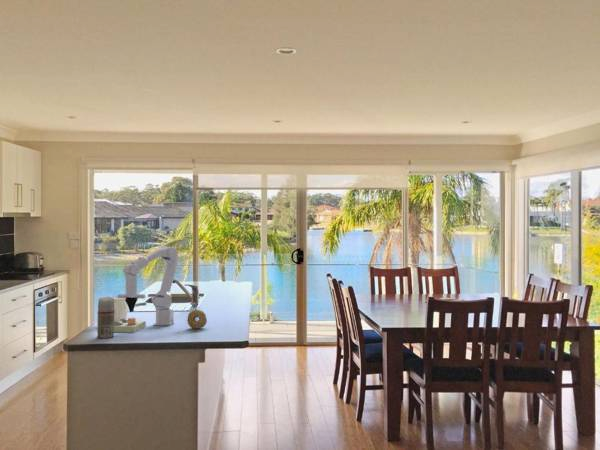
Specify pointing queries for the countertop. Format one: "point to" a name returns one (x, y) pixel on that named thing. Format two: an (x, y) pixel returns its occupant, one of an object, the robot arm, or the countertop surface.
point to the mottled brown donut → (200, 322)
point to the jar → (120, 308)
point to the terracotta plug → (131, 321)
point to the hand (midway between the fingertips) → (131, 311)
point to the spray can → (105, 318)
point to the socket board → (130, 327)
